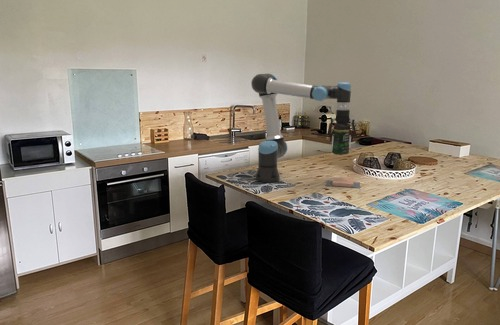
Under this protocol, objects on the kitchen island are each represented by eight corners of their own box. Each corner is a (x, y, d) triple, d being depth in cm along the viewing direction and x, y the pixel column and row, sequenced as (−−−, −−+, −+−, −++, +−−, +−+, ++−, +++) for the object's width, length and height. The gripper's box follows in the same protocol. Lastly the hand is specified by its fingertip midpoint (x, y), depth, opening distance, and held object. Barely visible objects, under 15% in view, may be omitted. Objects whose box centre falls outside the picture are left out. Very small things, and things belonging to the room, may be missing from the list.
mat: (325, 185, 225) (325, 185, 225) (326, 180, 235) (326, 180, 235) (360, 188, 220) (360, 187, 220) (359, 183, 230) (359, 182, 230)
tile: (333, 179, 235) (332, 185, 224) (333, 177, 235) (332, 182, 224) (353, 181, 232) (353, 187, 221) (353, 178, 232) (353, 184, 221)
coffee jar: (339, 156, 222) (340, 124, 218) (330, 153, 229) (331, 122, 224) (351, 154, 227) (353, 123, 222) (341, 151, 233) (343, 121, 229)
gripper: (323, 109, 220) (321, 147, 225) (363, 110, 215) (360, 149, 221) (324, 108, 227) (322, 145, 233) (362, 109, 222) (359, 146, 228)
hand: (340, 147), depth 227 cm, fingers closed on coffee jar, 9 cm apart
